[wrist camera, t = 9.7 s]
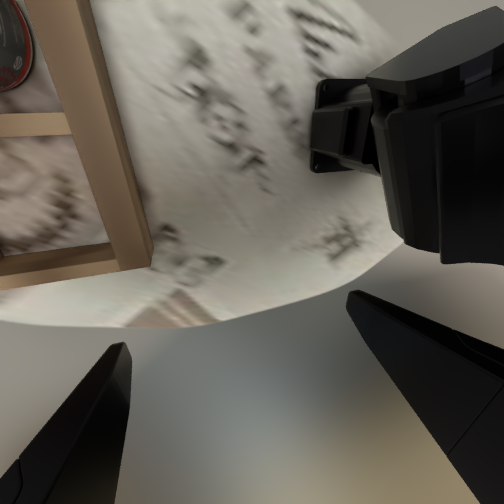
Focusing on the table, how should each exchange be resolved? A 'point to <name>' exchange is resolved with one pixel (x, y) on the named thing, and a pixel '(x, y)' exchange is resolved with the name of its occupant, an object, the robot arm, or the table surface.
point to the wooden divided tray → (82, 150)
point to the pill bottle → (13, 46)
